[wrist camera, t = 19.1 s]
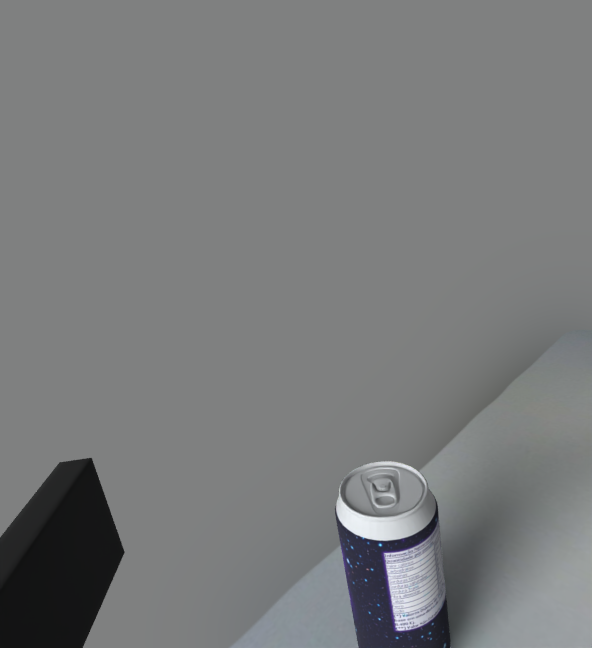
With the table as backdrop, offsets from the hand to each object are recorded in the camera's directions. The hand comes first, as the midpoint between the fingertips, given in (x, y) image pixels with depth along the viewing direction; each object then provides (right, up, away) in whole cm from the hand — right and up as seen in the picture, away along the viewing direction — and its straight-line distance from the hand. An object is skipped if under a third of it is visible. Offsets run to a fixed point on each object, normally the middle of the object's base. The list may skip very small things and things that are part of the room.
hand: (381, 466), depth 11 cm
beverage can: (+5, -17, +19) cm, 26 cm away
